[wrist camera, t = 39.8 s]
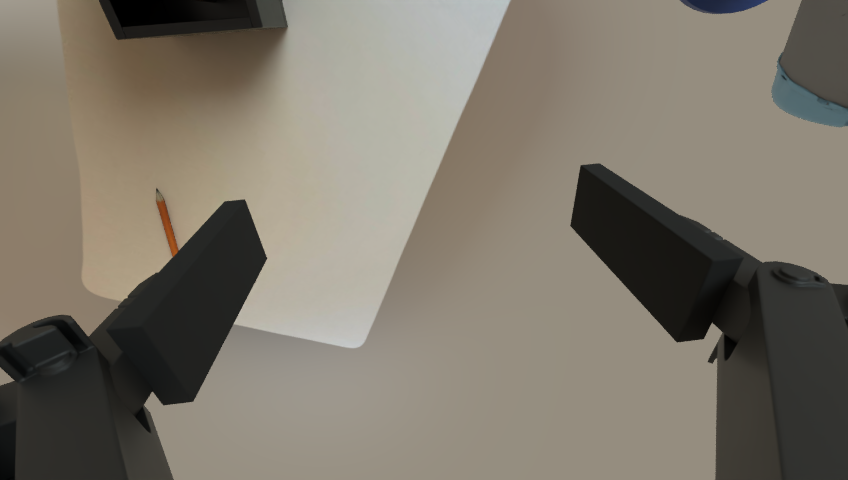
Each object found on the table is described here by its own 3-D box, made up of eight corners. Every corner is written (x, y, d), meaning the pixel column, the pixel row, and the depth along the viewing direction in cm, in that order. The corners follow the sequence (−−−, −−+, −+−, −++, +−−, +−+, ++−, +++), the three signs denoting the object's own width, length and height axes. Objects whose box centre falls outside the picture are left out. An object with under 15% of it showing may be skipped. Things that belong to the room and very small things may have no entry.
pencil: (185, 293, 57) (183, 297, 56) (154, 186, 48) (151, 188, 47) (191, 293, 57) (189, 297, 56) (161, 186, 48) (158, 189, 47)
